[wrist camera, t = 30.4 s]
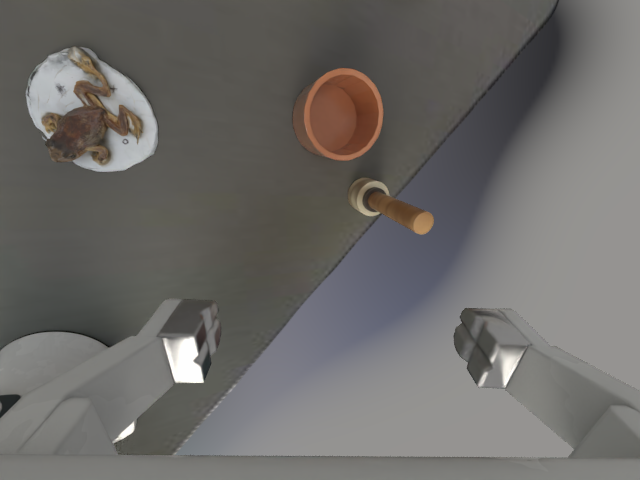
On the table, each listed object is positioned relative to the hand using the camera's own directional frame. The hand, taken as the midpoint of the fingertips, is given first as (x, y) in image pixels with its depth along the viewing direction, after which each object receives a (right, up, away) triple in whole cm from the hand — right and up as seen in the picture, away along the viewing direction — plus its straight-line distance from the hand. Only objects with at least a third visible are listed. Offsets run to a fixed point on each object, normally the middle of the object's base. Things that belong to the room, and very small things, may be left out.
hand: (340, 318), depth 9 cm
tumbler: (0, +19, +27) cm, 33 cm away
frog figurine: (-25, +16, +20) cm, 36 cm away
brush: (+6, +10, +32) cm, 34 cm away
